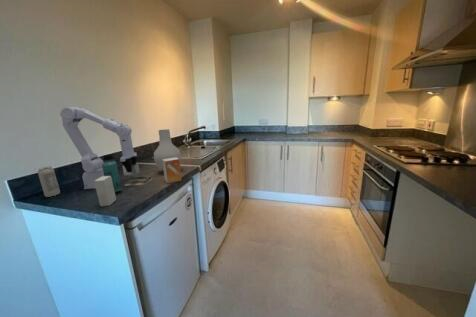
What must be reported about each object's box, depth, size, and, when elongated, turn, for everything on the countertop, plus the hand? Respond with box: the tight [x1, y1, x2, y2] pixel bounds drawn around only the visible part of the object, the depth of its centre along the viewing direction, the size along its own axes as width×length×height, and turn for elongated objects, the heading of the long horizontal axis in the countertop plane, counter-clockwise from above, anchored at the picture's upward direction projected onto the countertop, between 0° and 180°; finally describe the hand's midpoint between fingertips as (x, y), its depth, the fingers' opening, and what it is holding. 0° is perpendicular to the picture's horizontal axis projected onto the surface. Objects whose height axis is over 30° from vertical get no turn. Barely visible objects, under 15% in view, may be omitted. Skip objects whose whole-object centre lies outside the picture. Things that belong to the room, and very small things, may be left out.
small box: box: [162, 157, 183, 184], centre depth 115 cm, size 8×6×13 cm
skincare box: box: [94, 176, 117, 207], centre depth 89 cm, size 6×4×12 cm
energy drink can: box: [37, 165, 61, 198], centre depth 101 cm, size 6×6×15 cm
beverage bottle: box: [102, 153, 122, 193], centre depth 100 cm, size 6×7×20 cm
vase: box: [153, 129, 181, 171], centre depth 131 cm, size 17×16×28 cm
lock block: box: [122, 163, 141, 176], centre depth 114 cm, size 7×4×6 cm, turn 90°
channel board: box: [123, 175, 153, 187], centre depth 116 cm, size 12×9×2 cm
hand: (131, 170), depth 114 cm, fingers closed on lock block, 4 cm apart
